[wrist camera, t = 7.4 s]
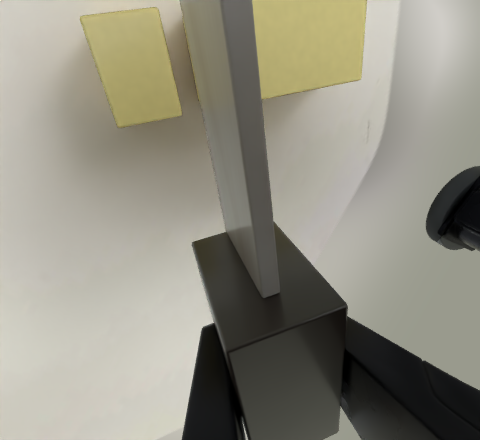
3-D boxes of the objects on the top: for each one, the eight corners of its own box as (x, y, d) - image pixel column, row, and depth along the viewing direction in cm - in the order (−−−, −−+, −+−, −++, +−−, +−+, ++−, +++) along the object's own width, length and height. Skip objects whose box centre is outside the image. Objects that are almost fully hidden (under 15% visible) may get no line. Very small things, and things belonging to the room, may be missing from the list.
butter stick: (326, -4, 14) (369, -20, 11) (324, 77, 15) (362, 79, 13) (181, 15, 12) (193, 1, 10) (198, 102, 14) (212, 110, 11)
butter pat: (153, 19, 12) (158, 6, 9) (174, 106, 14) (183, 115, 11) (91, 27, 11) (78, 15, 9) (121, 117, 13) (117, 128, 11)
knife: (222, 353, 10) (257, 472, 7) (107, -53, 5) (55, -266, 2) (283, 330, 11) (339, 432, 8) (243, -65, 5) (392, -246, 2)
